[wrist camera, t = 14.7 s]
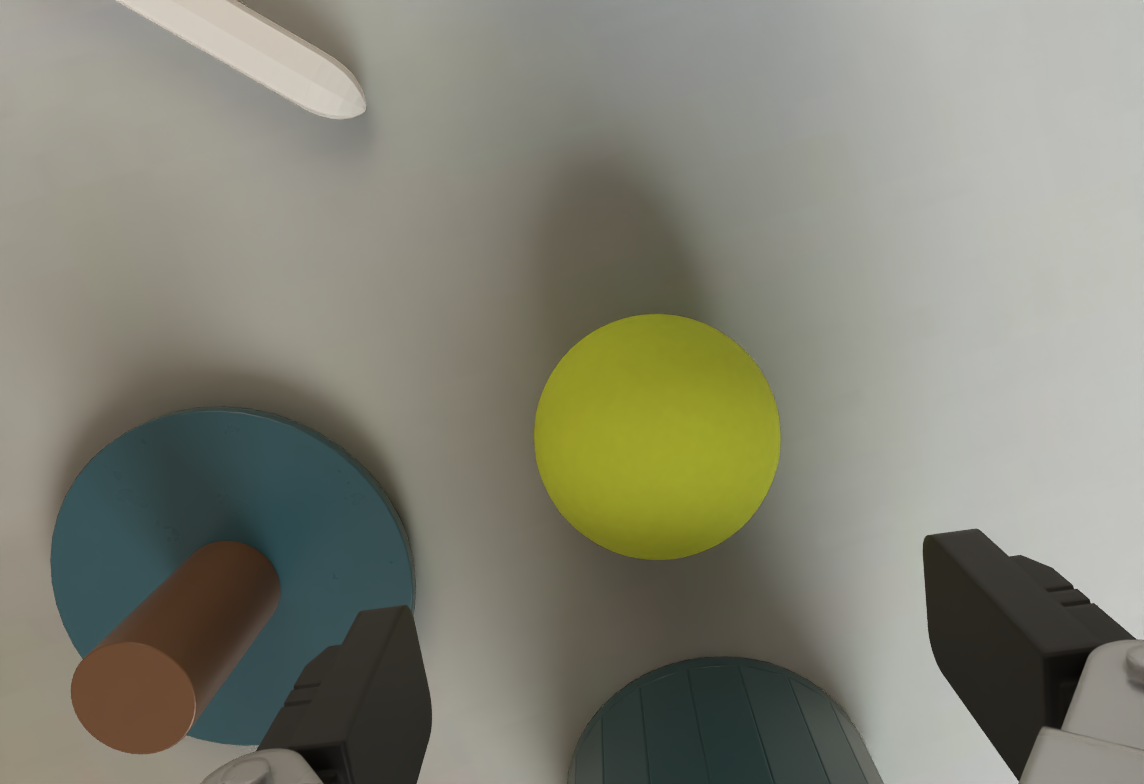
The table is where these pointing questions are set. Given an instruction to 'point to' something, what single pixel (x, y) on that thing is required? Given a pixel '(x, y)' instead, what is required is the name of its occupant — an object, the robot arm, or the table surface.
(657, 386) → the tennis ball
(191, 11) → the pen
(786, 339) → the table surface
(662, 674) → the tube
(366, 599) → the tube lid
